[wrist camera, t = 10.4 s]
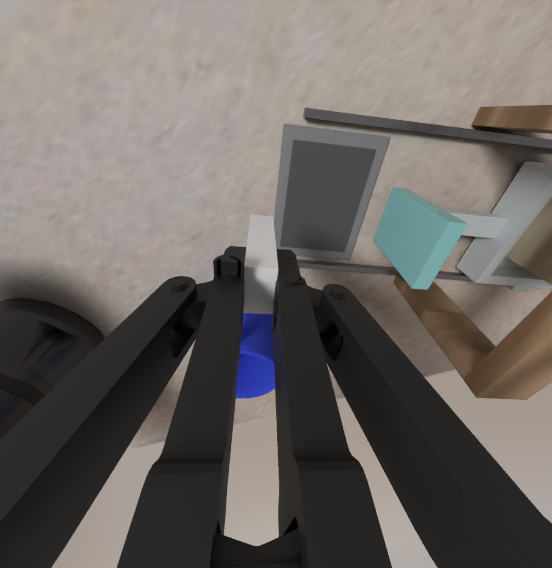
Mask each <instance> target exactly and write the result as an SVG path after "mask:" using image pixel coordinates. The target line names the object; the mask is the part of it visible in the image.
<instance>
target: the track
mask: <svg viewBox="0 0 552 568" xmlns="http://www.w3.org/2000/svg"><path fill="white" fill-rule="evenodd" d="M303 117H305V118H313V119H321V120H329V121H337V122H344V123H352V124H360V125H368V126H376V127H384V128H392V129H400V130H408V131H415V132H423V133H431V134H439V135H447V136H455V137H463V138H471V139H478V140H486V141H494V142H502V143H510V144H518V145H526V146H534V147H542V148H549V149H552V140H549V139H541V138H534V137H526V136H518V135H511V134H503V133H495V132H487V131H480V130H472V129H464V128H457V127H449V126H441V125H434V124H426V123H418V122H410V121H403V120H395V119H387V118H380V117H372V116H364V115H357V114H349V113H341V112H333V111H326V110H318V109H310V108H305V109H304V116H303ZM297 263H298V267H300V268H313V269H325V270H338V271H350V272H363V273H375V274H387V275H400V276H401V274H400V273H399V272H398V271H397V269H396V268H393V267H381V266H369V265H357V264H345V263H333V262H321V261H309V260H297ZM435 278H437V279H450V280H462V281H473V280H472V279H470V278H469V277H468V276H467V275H466V274H464V273H454V272H441V271H439V272H438V274H437V275H436V277H435ZM507 286H508V287H509V288H511V289H512V290H524V291H527V290H528V289H529V288H530V287H522V286H510V285H507Z"/></svg>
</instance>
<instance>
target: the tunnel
mask: <svg viewBox="0 0 552 568" xmlns="http://www.w3.org/2000/svg"><path fill="white" fill-rule="evenodd" d="M472 125H474V126H482V127H490V128H497V129H505V130H512V131H523V132H537V133H551V134H552V105H535V106H500V107H480V109H479V111H478V113H477V115H476V117H475V119H474V121H473V123H472ZM394 284H395V285H396V286H397V288H398V289H399V291H400V292H401V293H402V295H403V296H404V298H405V299H406V300H407V302H408V303H409V305H410V306H411V307H412V309H413V310H414V311H415V313H416V314H417V316H418V317H419V318H420V320H421V321H422V323H423V324H424V325H425V327H426V328H427V330H428V331H429V332H430V334H431V335H432V337H433V338H434V339H435V341H436V342H437V344H438V345H439V346H440V348H441V349H442V351H443V352H444V353H445V355H446V356H447V358H448V359H449V360H450V362H451V363H452V365H453V366H454V367H455V369H456V370H457V371H458V373H459V374H460V376H461V377H462V378H463V380H464V381H465V383H466V384H467V385H468V387H469V388H470V390H471V391H472V392H473V394H474V395H475V397H476V398H497V399H498V398H499V399H520V400H526V399H528V398H529V397H531V396H532V395H534V394H535V393H536V392H538V391H539V390H541V389H542V388H544V387H545V386H546V385H548V384H549V383H551V382H552V292H551V293H550V294H549V295H548V296H547V297H546V298H545V299H544V300H543V301H542V302H541V303H540V304H539V305H538V306H537V307H536V308H535V309H534V310H533V311H532V312H530V313H529V314H528V315H527V316H526V317H525V318H524V319H523V320H522V321H521V322H520V323H519V324H518V325H517V326H516V327H515V328H514V329H513V330H512V331H511V332H510V333H509V334H508V335H507V336H506V337H505V338H504V339H503V340H502V341H501V342H500V343H499V344H498V345H497V346H496V347H495V345H494V344H493V343H492V342H491V341H490V340H489V339H488V338H487V337H486V336H485V335H484V334H483V333H482V332H481V331H480V330H479V329H478V328H477V327H476V326H475V325H474V324H473V322H472V321H471V320H470V319H469V318H468V317H467V316H466V315H465V314H464V313H463V312H462V311H461V310H460V309H459V308H458V307H457V306H456V305H455V304H454V303H453V302H452V301H451V299H450V298H449V297H448V296H447V295H446V294H445V293H444V292H443V291H442V290H441V289H440V288H439V287H438V286H437V285H436V284H435V283H434V282H432V283H431V285H430V287H429V288H428V290H424V289H412V288H411V287H410V286H409V284H408V283H407V282H406V281H405V279H404V278H403V277H402V276H400V275H397V277H396V279H395V281H394Z"/></svg>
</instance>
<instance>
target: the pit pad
mask: <svg viewBox="0 0 552 568" xmlns="http://www.w3.org/2000/svg"><path fill="white" fill-rule="evenodd" d="M389 139H390V137H385V136H377V135H369V134H361V133H353V132H345V131H337V130H329V129H321V128H313V127H305V126H297V125H289V124H284V130H283V140H282V149H281V159H280V169H279V179H278V189H277V199H276V209H275V218H274V230H275V240H276V249H286V250H292V251H293V252H294V253H295V254H296V256H308V257H320V258H332V259H344V260H349V259H350V256H351V253H352V250H353V247H354V244H355V241H356V238H357V235H358V232H359V229H360V226H361V223H362V220H363V217H364V214H365V211H366V208H367V205H368V202H369V199H370V196H371V193H372V190H373V187H374V184H375V181H376V178H377V175H378V172H379V169H380V166H381V163H382V160H383V157H384V154H385V151H386V148H387V145H388V142H389Z"/></svg>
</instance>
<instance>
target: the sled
mask: <svg viewBox="0 0 552 568" xmlns="http://www.w3.org/2000/svg"><path fill="white" fill-rule="evenodd" d="M551 198H552V164H546V163H538V162H530V161H525V162H524V164H523V165H522V167H521V169H520V170H519V172H518V173H517V175H516V176H515V178H514V179H513V181H512V182H511V184H510V185H509V187H508V188H507V190H506V191H505V193H504V194H503V196H502V197H501V199H500V200H499V202H498V204H497V205H496V207H495V208H494V210H493V211H492V213H483V212H474V211H464V210H454V209H444V208H439V207H438V206H436V205H434V204H432V203H430V202H429V201H427V200H425V199H423V198H422V197H420V196H418V195H416V194H415V193H413V192H411V191H409V190H408V189H404V188H395V187H393V189H392V191H391V194H390V196H389V199H388V202H387V204H386V207H385V210H384V212H383V215H382V218H381V220H380V223H379V225H378V228H377V231H376V233H375V236H374V239H373V240H374V242H375V243H376V244H377V245H378V247H379V248H380V249H381V250H382V252H383V253H384V254H385V255H386V257H387V258H388V259H389V260H390V262H391V263H392V264H393V266H394V267H395V268H396V269H397V271H398V272H399V273H400V274H401V276H402V277H403V278H404V279H405V281H406V282H407V283H408V284H409V286H410V287H411V288H412V289H424V290H428V288H429V287H430V285H431V283H432V282H433V280H434V279H435V277H436V275H437V274H438V272H439V270H440V269H441V267H442V266H443V264H444V262H445V261H446V259H447V257H448V256H449V254H450V253H451V251H452V249H453V248H454V246H455V244H456V243H457V241H458V240H459V238H460V236H461V235H464V236H474V237H475V239H474V240H473V242H472V243H471V245H470V246H469V248H468V249H467V251H466V252H465V254H464V255H463V257H462V258H461V260H460V261H459V263H458V264H457V266H456V267H457V268H458V269H460V270H461V271H462V272H463V273H464V274H466V275H467V276H468V277H469V278H470V279H472V280H473V281H474V282H475V283H485V284H497V285H510V286H522V287H535V288H547V289H552V285H551V284H549V283H548V282H546V281H544V280H543V279H541V278H540V277H538V276H536V275H535V274H533V273H531V272H530V271H528V270H527V269H525V268H523V267H522V266H520V265H518V264H517V263H515V262H514V261H512V260H510V259H509V258H507V257H505V256H506V255H507V254H508V253H509V251H510V250H511V249H512V247H513V246H514V245H515V244H516V242H517V241H518V240H519V238H520V237H521V236H522V235H523V233H524V232H525V231H526V230H527V228H528V227H529V226H530V224H531V223H532V222H533V221H534V219H535V218H536V217H537V215H538V214H539V213H540V212H541V210H542V209H543V208H544V206H545V205H546V204H547V203H548V201H549V200H550V199H551Z"/></svg>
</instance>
